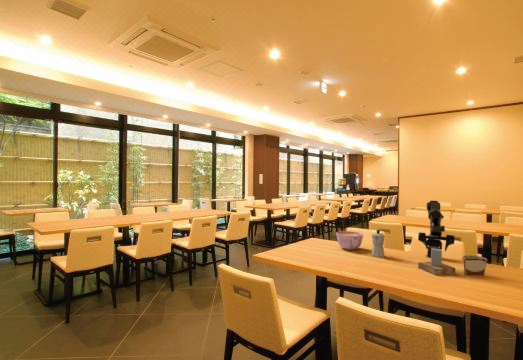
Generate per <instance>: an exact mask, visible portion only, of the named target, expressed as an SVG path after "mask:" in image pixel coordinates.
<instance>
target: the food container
mask: <svg viewBox="0 0 523 360" xmlns="http://www.w3.org/2000/svg"><path fill="white" fill-rule="evenodd" d="M461 260H462V261H463V269H464V270H463V271H464V275H465V276H467V277H485V274H486V265H487V263H488V259H487V258H486V257H484V256H480V255H471V254H469V255H466V254H465V255H463V256H462V259H461Z"/></svg>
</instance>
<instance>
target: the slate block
mask: <svg viewBox="0 0 523 360" xmlns="http://www.w3.org/2000/svg"><path fill="white" fill-rule="evenodd" d="M442 258H443V251H442V249H434V248H431V258H430V262H431V265H432V266H439V267H441V264H442V263H443V262H442V260H443V259H442Z"/></svg>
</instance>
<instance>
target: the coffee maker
mask: <svg viewBox="0 0 523 360" xmlns="http://www.w3.org/2000/svg"><path fill="white" fill-rule="evenodd" d="M371 239H372V240H371V241H372V244H373V246H372V250H371V256H372V257H374V258H385V257H386V255H385V250H384V242H385V234H383V233H381V230H380V229H376V233H372V234H371Z"/></svg>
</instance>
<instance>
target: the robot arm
mask: <svg viewBox="0 0 523 360" xmlns="http://www.w3.org/2000/svg"><path fill="white" fill-rule="evenodd" d="M426 211H427V214H428V215H427V219H429V227H430V228H429V231H430V232H429V234H427V233H426V232H418V233H417V234H418V236H417V237H418V239H417V240H418V241H419V242H421V243H422V244H423V245H424V247H425V249H426V250H427V254H426V255H425V256H426V257H427V258H430V259H431V248H434V249H441V250H442V249H443V242H442V241H445V247H444V252H447V250H448V247H450V246H451V245H454V244H455V240H456V239H455V238H456V237H455V236H454V235H453V234H446V236H442V235H443V234H442V232H443V233H444V232H445V231H446V229H445V228H446V227H445V225H442V220H443V219H444V217H445V216H444V215H443V213H442V212H441V203H440V202H439V201H438V200H429V202H427V203H426Z"/></svg>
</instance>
